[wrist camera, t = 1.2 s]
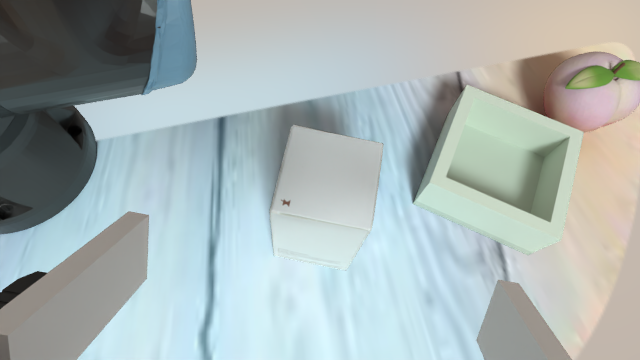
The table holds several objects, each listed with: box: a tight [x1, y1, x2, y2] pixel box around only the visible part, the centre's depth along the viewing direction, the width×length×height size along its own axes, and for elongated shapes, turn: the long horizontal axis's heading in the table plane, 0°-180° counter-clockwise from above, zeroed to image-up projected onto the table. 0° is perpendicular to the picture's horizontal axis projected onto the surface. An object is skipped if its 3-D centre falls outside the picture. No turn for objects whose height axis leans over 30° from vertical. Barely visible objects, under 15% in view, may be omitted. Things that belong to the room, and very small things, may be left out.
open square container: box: [413, 85, 584, 255], centre depth 42 cm, size 12×12×6 cm
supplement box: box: [269, 125, 383, 271], centre depth 35 cm, size 7×7×13 cm
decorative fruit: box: [543, 52, 640, 132], centre depth 44 cm, size 9×8×10 cm
